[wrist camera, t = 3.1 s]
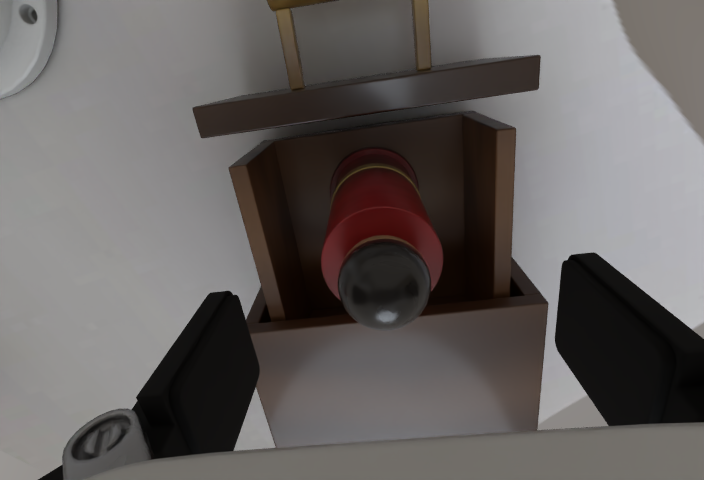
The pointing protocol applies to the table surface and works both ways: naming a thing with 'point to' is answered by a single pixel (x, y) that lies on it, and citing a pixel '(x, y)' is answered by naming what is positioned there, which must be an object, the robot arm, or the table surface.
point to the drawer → (402, 137)
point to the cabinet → (404, 371)
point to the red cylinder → (379, 240)
